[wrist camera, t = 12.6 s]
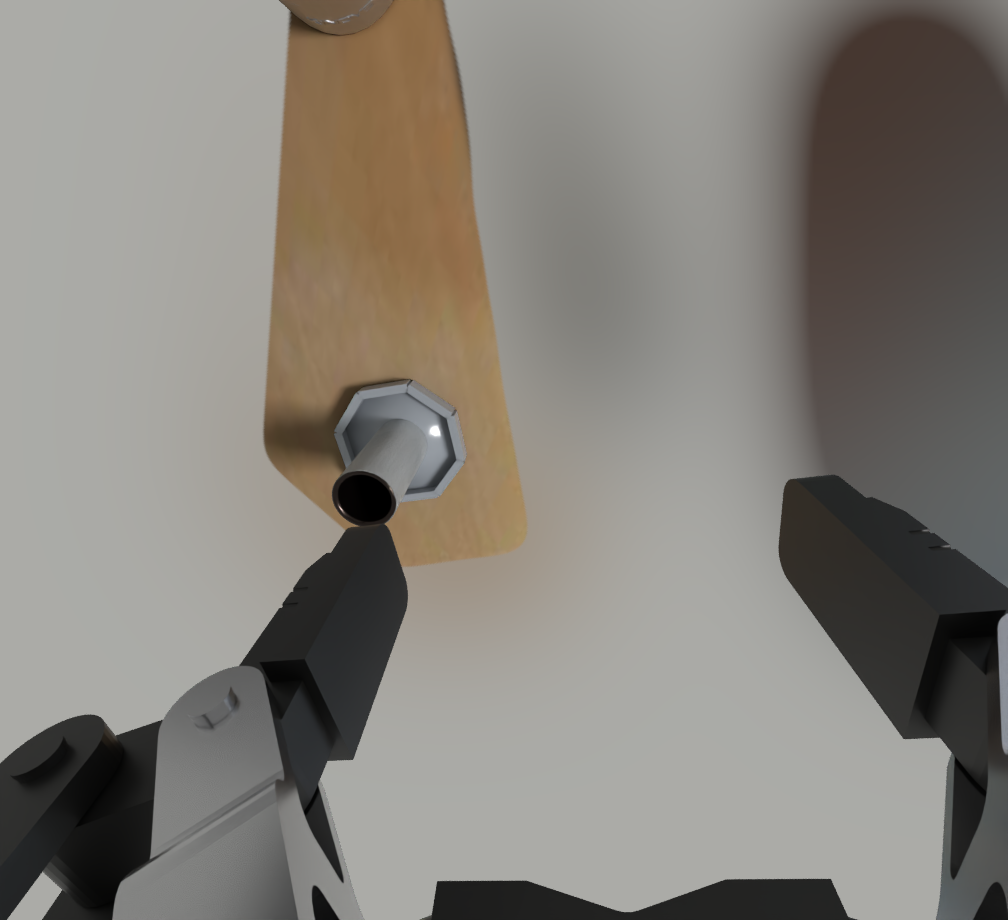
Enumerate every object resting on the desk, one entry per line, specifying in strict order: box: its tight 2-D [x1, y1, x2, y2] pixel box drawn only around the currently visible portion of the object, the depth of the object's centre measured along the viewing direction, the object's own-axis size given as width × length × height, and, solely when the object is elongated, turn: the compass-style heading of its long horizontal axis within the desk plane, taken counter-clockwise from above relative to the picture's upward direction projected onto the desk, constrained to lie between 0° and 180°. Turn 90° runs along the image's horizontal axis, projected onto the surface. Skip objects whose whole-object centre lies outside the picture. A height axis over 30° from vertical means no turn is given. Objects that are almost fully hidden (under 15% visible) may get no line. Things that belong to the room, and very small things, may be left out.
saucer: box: [334, 379, 467, 502], centre depth 41 cm, size 11×11×1 cm
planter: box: [332, 419, 427, 526], centre depth 37 cm, size 4×4×10 cm
